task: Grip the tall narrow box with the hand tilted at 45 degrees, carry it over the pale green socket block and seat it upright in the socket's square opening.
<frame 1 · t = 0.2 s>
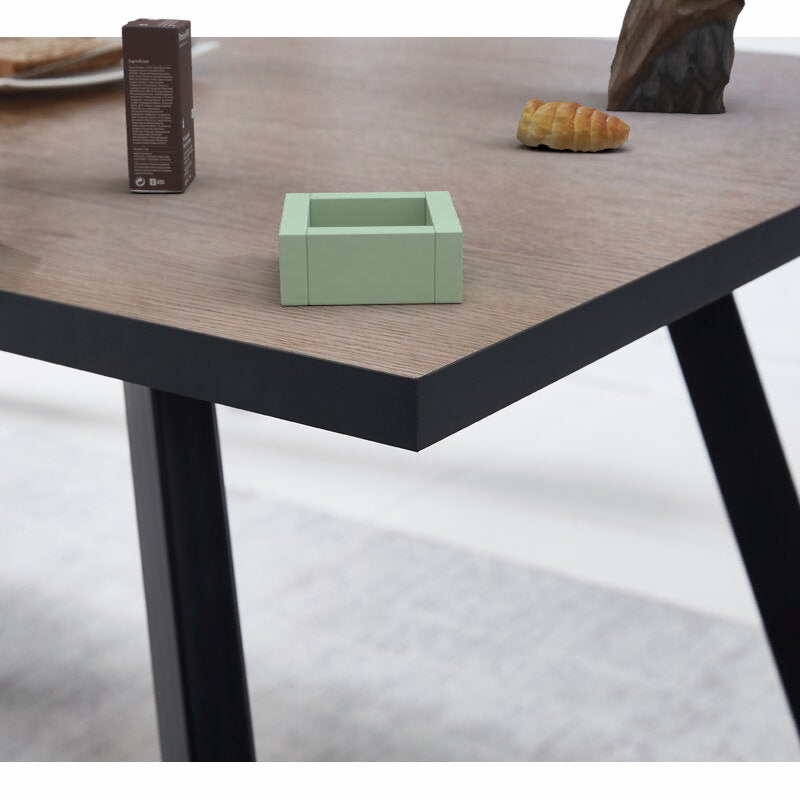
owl: (659, 107, 134), on the table
socket: (369, 278, 76), on the table
pastry: (566, 147, 114), on the table
box: (165, 187, 99), on the table
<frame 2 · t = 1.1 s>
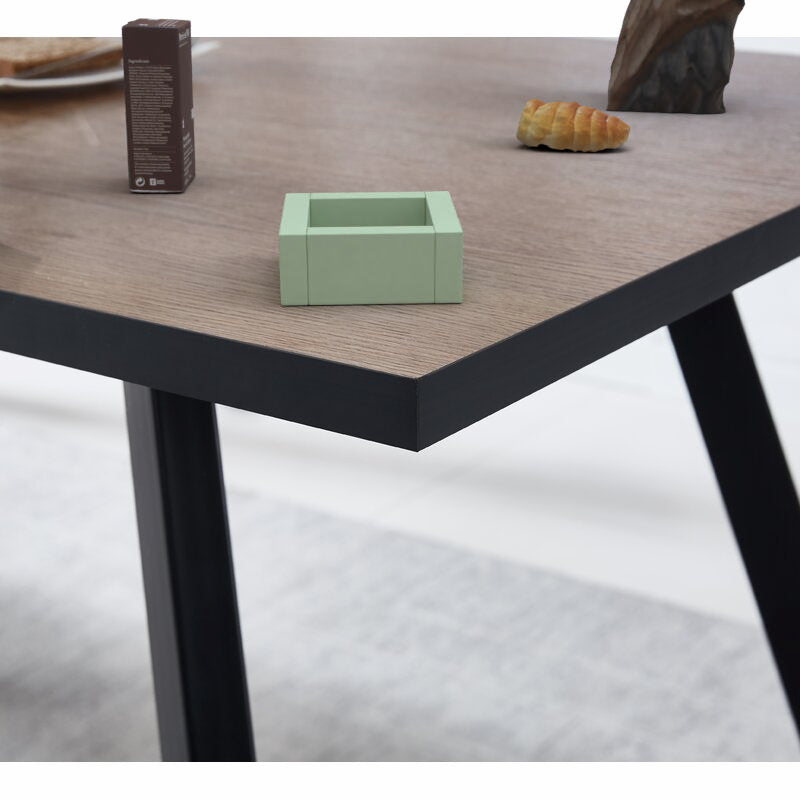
nothing on the table moved.
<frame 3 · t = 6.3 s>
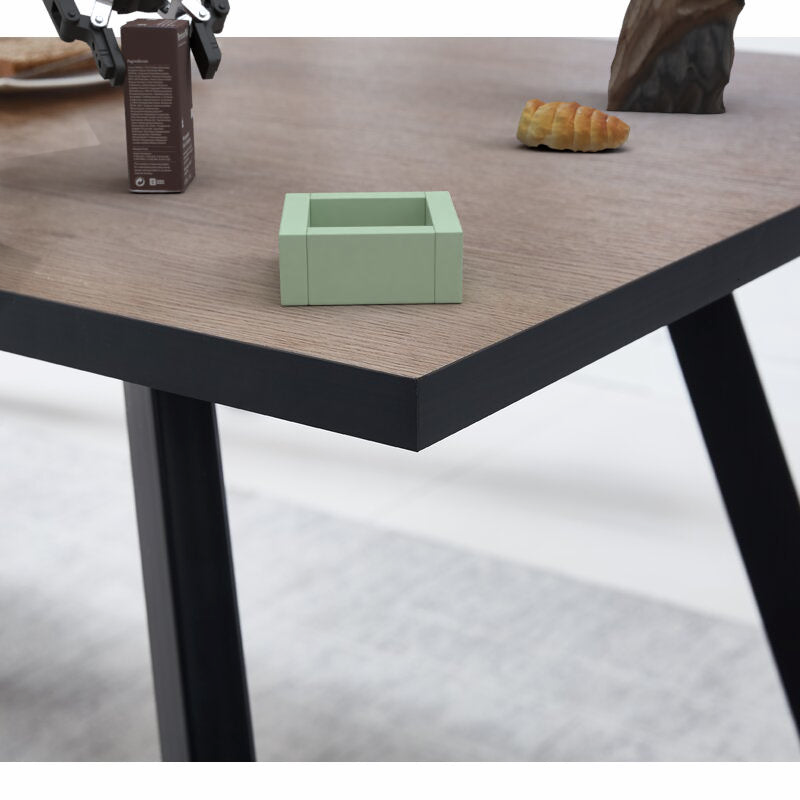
hand: (166, 75, 95), 8 cm above the table, tool tilted 45°, fingers closed on box, 6 cm apart
box: (165, 187, 99), on the table, touching gripper
everything else where it was.
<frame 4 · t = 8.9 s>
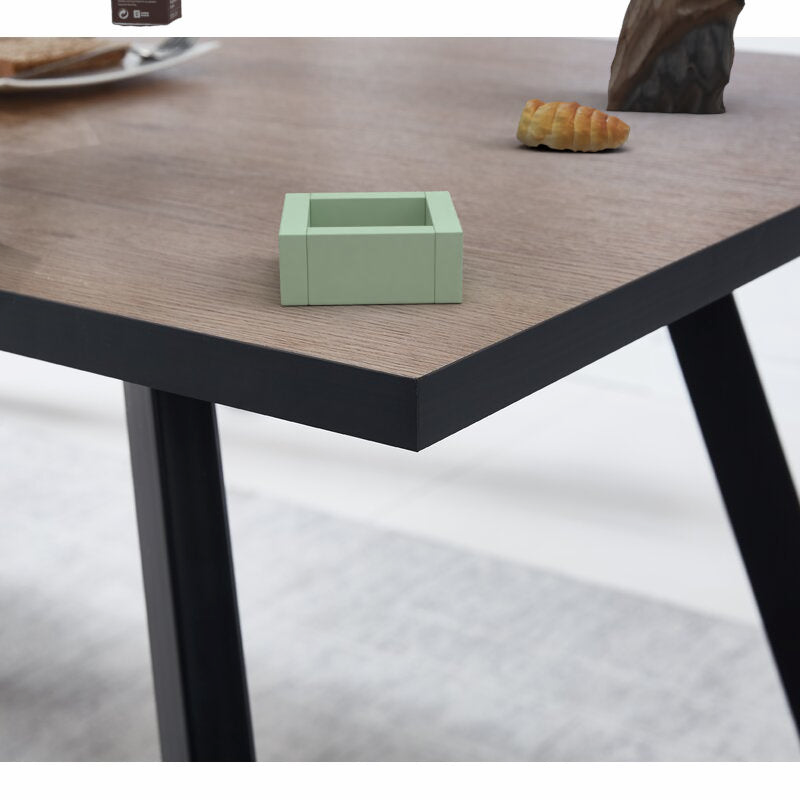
box: (150, 25, 95), point 12 cm above the table, touching gripper
everything else where it was.
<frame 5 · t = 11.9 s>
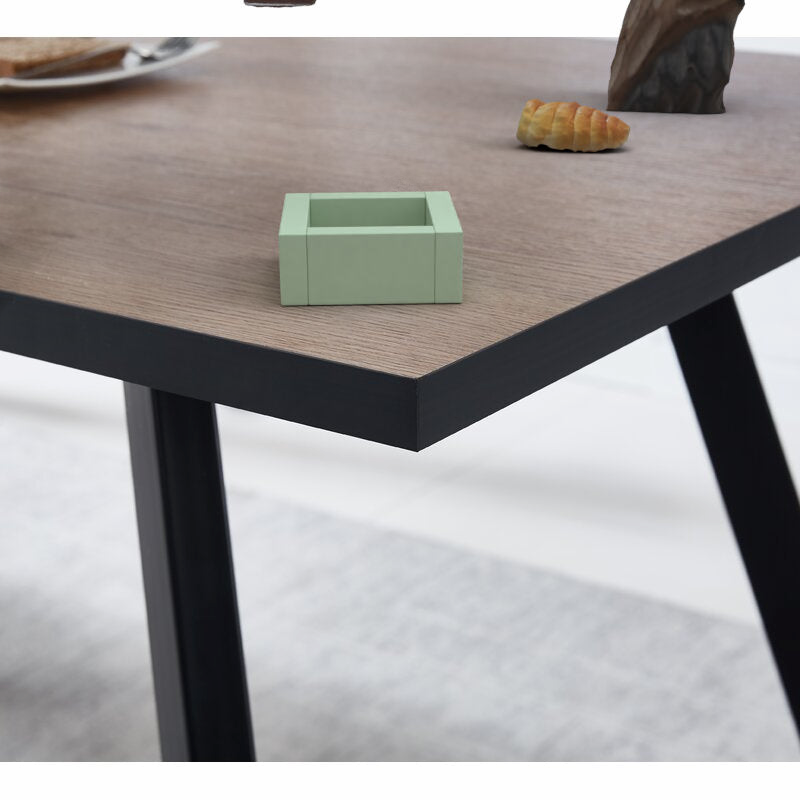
box: (286, 6, 78), point 15 cm above the table, touching gripper
everything else where it was.
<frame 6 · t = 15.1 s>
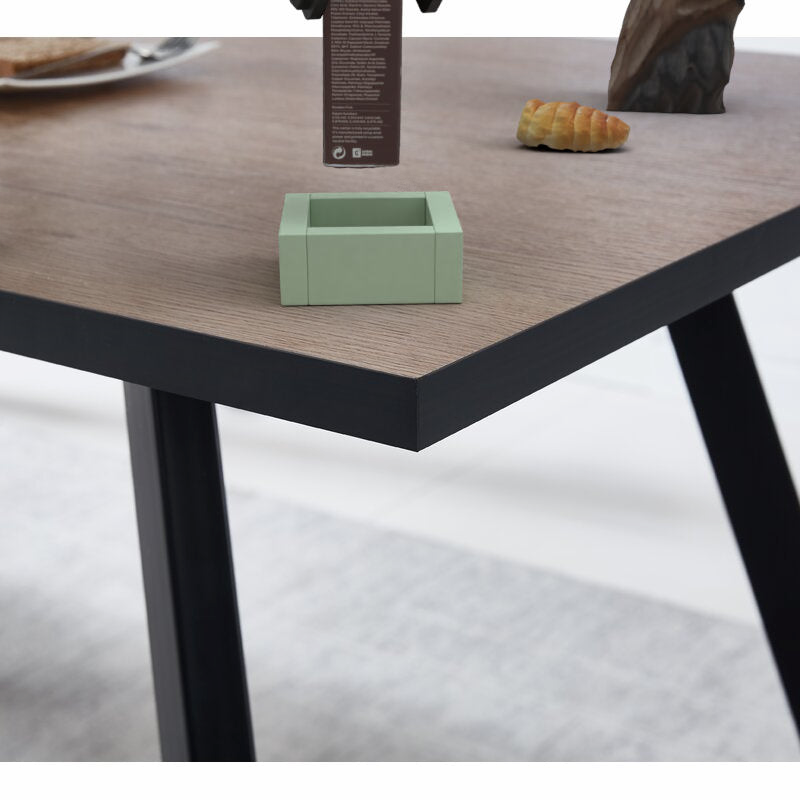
hand: (379, 5, 69), 15 cm above the table, tool tilted 45°, fingers closed on box, 6 cm apart
box: (366, 161, 73), point 7 cm above the table, touching gripper
everything else where it was.
when the fingers open (8 cm above the table, at t = 17.6 s): box stays where it is, resting in socket.
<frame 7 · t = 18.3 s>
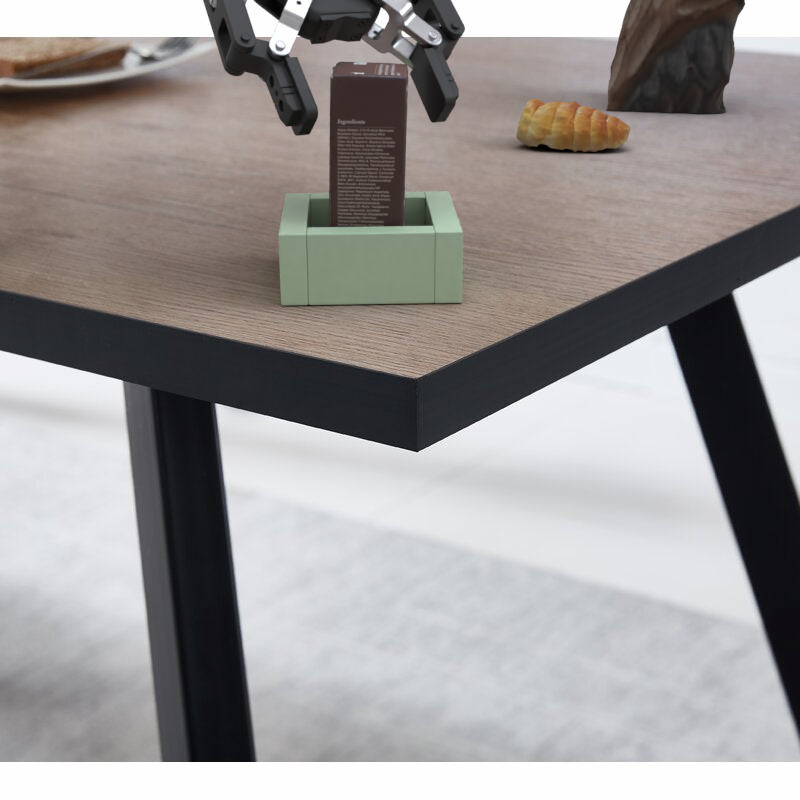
hand: (378, 120, 71), 9 cm above the table, tool tilted 45°, fingers open, 8 cm apart
box: (369, 282, 76), resting in socket
everything else where it was.
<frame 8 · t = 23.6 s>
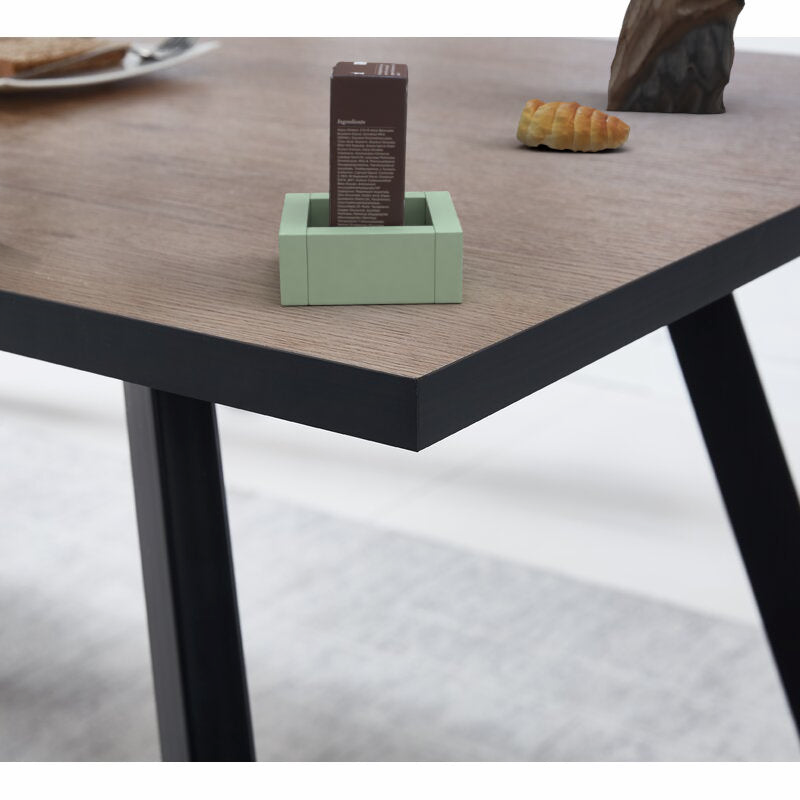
nothing on the table moved.
at the end: box 0.1 cm off-centre in the socket, point 0.0 cm above the socket's base; box tilted 0°; the gripper is holding nothing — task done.
